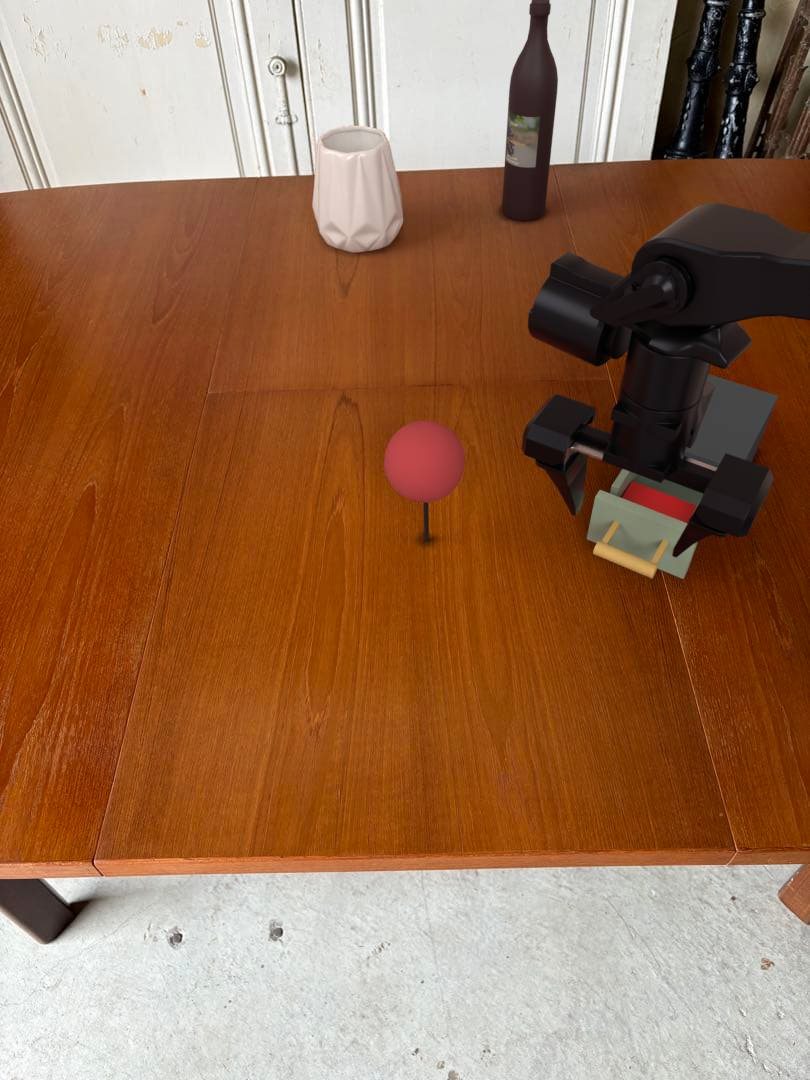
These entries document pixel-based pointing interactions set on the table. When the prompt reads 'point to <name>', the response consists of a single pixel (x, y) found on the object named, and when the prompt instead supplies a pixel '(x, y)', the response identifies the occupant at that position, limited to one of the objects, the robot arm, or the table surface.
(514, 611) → the table surface
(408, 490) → the lollipop
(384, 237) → the vase
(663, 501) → the red rectangular block
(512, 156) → the wine bottle
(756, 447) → the cabinet
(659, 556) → the drawer
